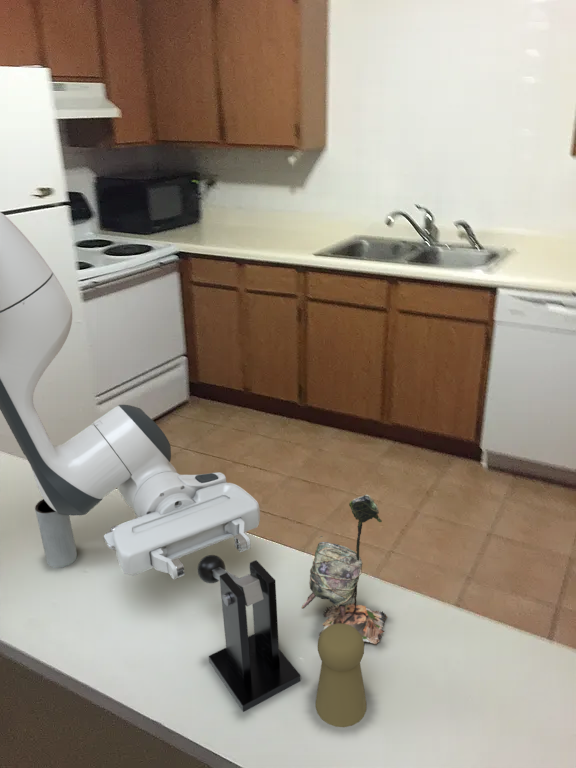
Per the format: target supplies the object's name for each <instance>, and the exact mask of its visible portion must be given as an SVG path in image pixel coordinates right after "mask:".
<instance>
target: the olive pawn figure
mask: <svg viewBox="0 0 576 768" xmlns="http://www.w3.org/2000/svg"><path fill="white" fill-rule="evenodd" d="M320 633H321V632H320ZM319 635H320V634H319ZM317 653H318V655H319V659H320V660H321V665H320V672H319V677H318V678H319V679H318V684H317V689H316V697H315V706H314V707H315V710H316V713H317V716H319V718H320V719H321V720H322V721H323V722H324V723H326V724H327V725H330V726H333V727H335V728H347V727H352V726H354V725H356V724H358V723H359V722H361V721H362V720H363V718H364V717H365V715H366V712H367V699H366V692H365V686H364V680H363V678H364V677H363V673H362V666H361V662H362V659H363V658H364V654H365V642H364V641H363V638H362V636H361V634H360V633H359V632H358V631H357V630H356V629H355V628H354V627H352V626H351V625H347V624H341V623H338V624H333V625H330V626H328V627H327V628H326V629H325V630H324V631H323V632H322V633H321V635H320V636H318V639H317Z"/></svg>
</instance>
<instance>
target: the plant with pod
mask: <svg viewBox="0 0 576 768" xmlns="http://www.w3.org/2000/svg"><path fill="white" fill-rule="evenodd" d="M348 505H349V508H350V510H351V513H352V514H353V517H354V518H355V520H357V521H358V522H357V538H356V545H355V547H356V548H355V549H356V550H352V549H351V548H349V547H347V546H345V545H341V544H339V543H338V544H337V543H331V542H328V541H321V542H318V544H317V546H316V549H315V551H314V559H313V560H312V565H311V567H310V570H309V573H310V574H309V583H308V584H309V589H310V591H311V592H312V593H310V594H309V596H308V597H307V599H306V600H305V602H304V603H303V604H302V605H301V609H302V610H304V609H305V608H307V606H309V605H310V604H311V603H312V601H313V600H314V599H315V598H320V599H322V600H328V601H329V602H331V604H333V606H332V605H331V606H325V607H326V609H324V611H323V612H322V613H323V617H324V618H327V619H326V620H325V621H324V622H323V623H322V626H323V628H322V630H321V631H320V632H319V634H318V637H320V635H321V633H322V632H323V631H324V630H325V629H326V628H327V627H328V626H330V625H333V624H338V623H341V624H347V625H351V626H352V627H354V628H355V629H356V630H357V631H358V632H359V633H360V634H361V636H362V638H363V641H364V643H365V642H366V643H370V644H373V645H377V644H378V643H379V642H381V639H382V638H383V636H382V634H383V633H385V632H386V630H384V626H386V624H385V621H387V618H388V616H387V614H386V613H385V612H384V611H383V610H382V611H380V610H372V609H371V608H368V607H367V606H366V605H362V604H357V597H358V582H359V580H360V576H361V575H362V570H363V565H364V563H363V560H362V558H361V557H360V545H361V535H362V529H363V524H364V523H366V522H368V521H369V520H373V519H375V520H376V521H377V522H378V523H382V522H383V520H382V519H381V518H380V516H379V514H380V511H379V507H378V504H376V503H375V500H374V499H373V498H372V497H371V495H369V494H364V495H361V496H357V497H355V498H353V499H352V500H351V501H349V503H348ZM319 538H320V539H322V538H323V535H320V536H319Z"/></svg>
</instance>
